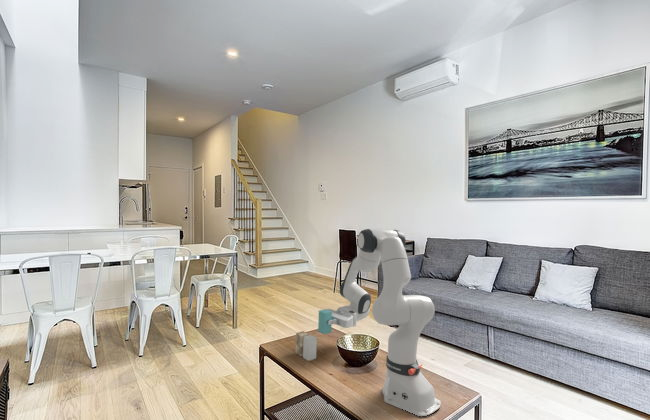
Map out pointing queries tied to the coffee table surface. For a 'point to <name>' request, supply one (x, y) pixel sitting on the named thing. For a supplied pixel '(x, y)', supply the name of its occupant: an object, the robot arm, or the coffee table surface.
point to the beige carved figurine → (300, 342)
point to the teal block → (324, 321)
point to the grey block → (309, 347)
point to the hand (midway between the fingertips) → (323, 320)
